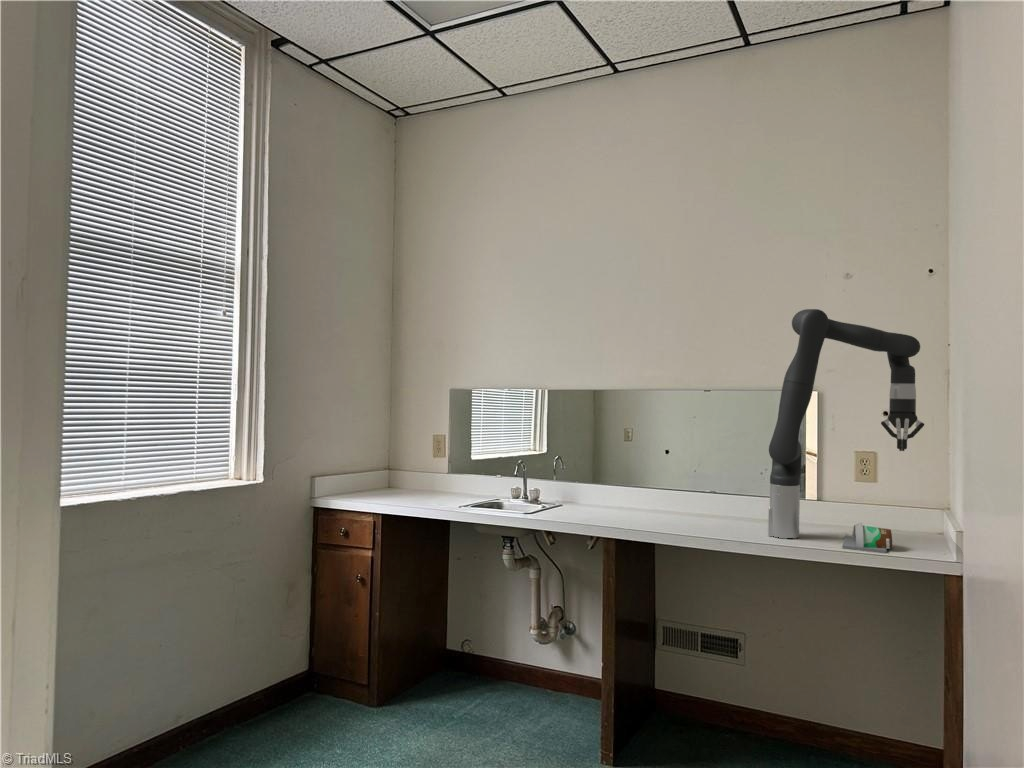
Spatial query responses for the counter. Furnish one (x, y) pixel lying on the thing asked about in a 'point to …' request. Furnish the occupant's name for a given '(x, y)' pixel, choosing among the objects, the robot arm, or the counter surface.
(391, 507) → the counter surface
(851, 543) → the mat
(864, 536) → the food container
